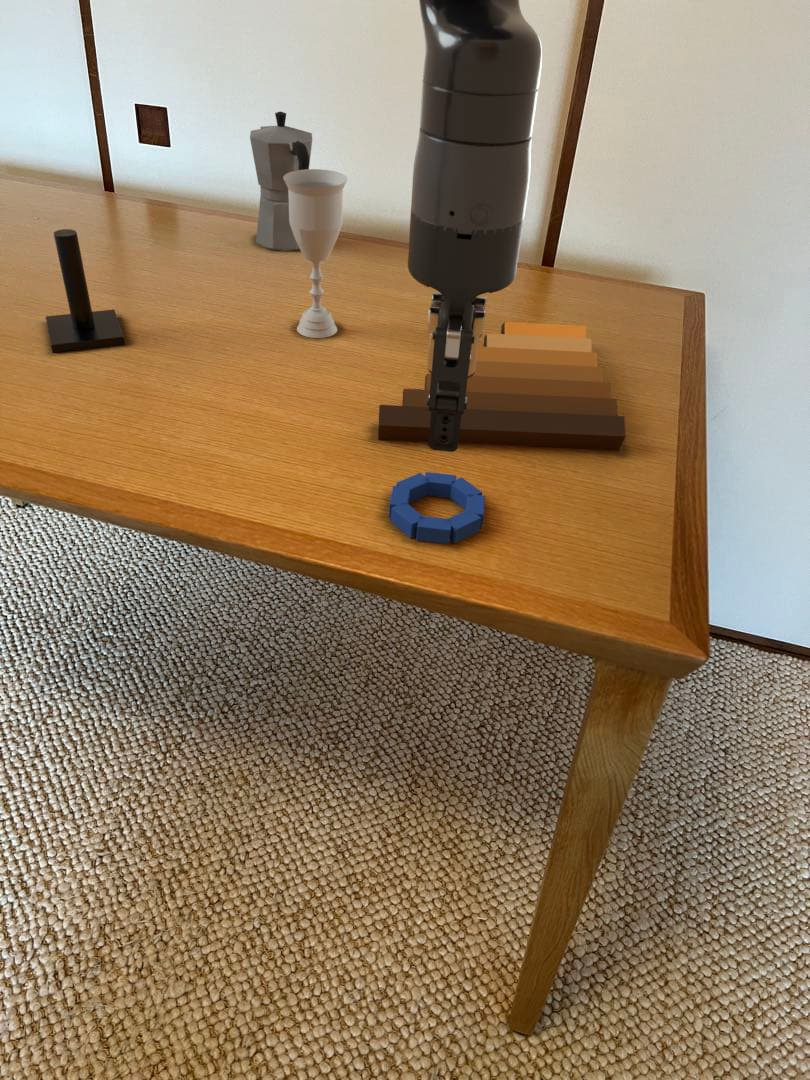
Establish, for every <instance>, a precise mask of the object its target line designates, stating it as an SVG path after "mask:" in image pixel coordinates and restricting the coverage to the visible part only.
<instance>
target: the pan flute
mask: <svg viewBox="0 0 810 1080" xmlns="http://www.w3.org/2000/svg"><path fill="white" fill-rule="evenodd" d="M586 328H587V326H586V325H575V324H574V325H573V324H557V323H536V322H518V321H517V322H515V321H504V322H503V323H502V324H501V327H500V333H486V334H485V335H484V337H483V344H482V345H483V346H478V351H477V360H476V369H475V373H474V375H473V376H472V377H470V378H468V379H467V388H466V397H465V398H467V407H466V410H464V414H463V415H462V416H461V425H460V434H459V443H458V444H473V445H492V446H493V445H496V446H514V447H515V446H518V447H519V446H520V447H538V448H539V447H541V448H560V449H561V448H563V449H564V448H565V449H584V450H585V449H586V450H609V451H620V449H621V447H622V445H623V443H624V441H625V439H626V421H625V420H626V418H625V415H618V411H619V410H618V398H612V397H611V382H609V381H605V376H604V374H605V373H604V372H605V371H604V366H598V352H597V351H596V352H595V351H592V349H593V347H592V338H587V329H586ZM430 386H431V373H426V374H425V376H424V389H419V388H418V389H416V388H403V390H402V405H394V404H393V405H391V404H379V408H378V409H379V411H378V428H377V429H378V430H377V432H378V433H377V434H378V435H377V440H382V441H383V440H384V441H406V442H407V441H408V442H424V443H425V442H426V443H428V442H429V430H430V419H431V411H428V409H429V406H427V399H428V398H429V394H430Z"/></svg>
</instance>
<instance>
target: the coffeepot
mask: <svg viewBox="0 0 810 1080" xmlns="http://www.w3.org/2000/svg"><path fill="white" fill-rule="evenodd" d="M274 115H275V121H276V125H266V126H265V125H263V126H260V127H259V128H258V129H253V130H250V135H249V140H250V145H251V151H252V155H253V156H252V157H253V161H254V162H253V163H254V168H255V172H256V177H257V178H256V179H257V183H258V185H259V187H260V188H259V189H260V196H259V207H258V216H257V226H256V227H257V229H256V239H255V243H256V244H258V245H259V246H261V247H262V248H264V249H268V250H271V251H272V250H273V251H277V252H281V251H282V252H292V251H301V250H300V248H299V246H298V244H297V242H296V240H295V237H294V234H293V232H292V229H291V226H290V222H289V195H288V187H287V185H286V183H285V181H284V178H283V176H284V175H285V174H287V173H290V172H293V171H297V170H305V169H310V163H311V153H312V147H313V146H312V144H313V133H312V132H309V131H305V130H302V129H299V128H295V127H291V126H288V125H286V120H287V113H286V112H284V111H277V112H275V113H274Z"/></svg>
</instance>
